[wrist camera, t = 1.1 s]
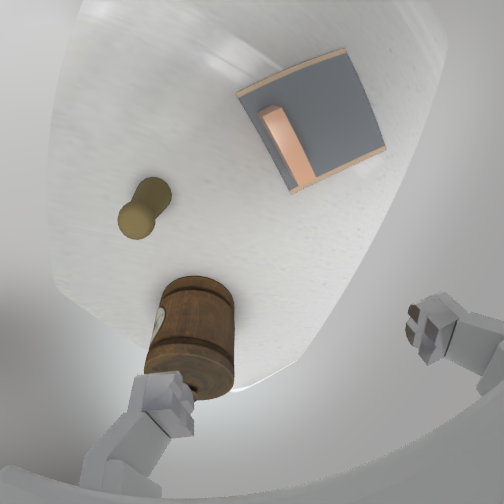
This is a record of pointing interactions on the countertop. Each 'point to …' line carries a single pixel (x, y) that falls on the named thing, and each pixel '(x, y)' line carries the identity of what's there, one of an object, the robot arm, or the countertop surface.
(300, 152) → the tile
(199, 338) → the wooden container
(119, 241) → the countertop surface
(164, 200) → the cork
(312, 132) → the mat
